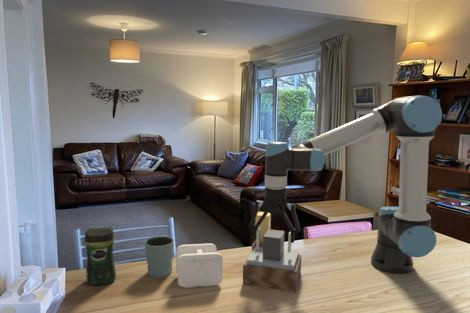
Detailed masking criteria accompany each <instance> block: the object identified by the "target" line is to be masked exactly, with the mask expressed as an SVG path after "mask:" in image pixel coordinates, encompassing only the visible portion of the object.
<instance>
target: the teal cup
mask: <svg viewBox="0 0 470 313" xmlns="http://www.w3.org/2000/svg"><path fill="white" fill-rule="evenodd" d="M174 245H175V244H174V239H173V238H172V237H170V236H166V235H161V236H160V235H157V236H151V237H149V238H147V239H145V241H144V248H145V254H146V264H147V267H146V268H147V274H148V276H150V277H152V278H158V279H159V278H165V277H168V276H170V275H171V274H172V272H173V257H174Z"/></svg>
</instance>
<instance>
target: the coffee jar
mask: <svg viewBox="0 0 470 313" xmlns="http://www.w3.org/2000/svg"><path fill="white" fill-rule="evenodd" d="M114 243H115V233H114V229H113V227H111V226H110V227H109V226H108V227H97V228H95V227H93V228H88V229H87V230H86V231H85V233H84V246H85V249H86V270H85V281H86V284H87V285H90V286H100V285H107V284H112V283H113V282H114V281H115V280H116V278H117V275H116V274H117V272H116V267H115V266H116V265H115V260H114V249H113V248H114V247H113V246H114Z"/></svg>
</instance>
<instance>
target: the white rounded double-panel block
mask: <svg viewBox="0 0 470 313" xmlns="http://www.w3.org/2000/svg"><path fill="white" fill-rule="evenodd" d="M175 251H176V253H175V258H176V259H175V260H176V262H175V267H176V268H175V273H176V275H177V285H178V286H180V287H181V288H185V289H189V288H190V289H191V288H195V287H196V288H197V287H207V288H208V287H214V286H217V285H220V284H221V283H222V282H223V265H224V260H223V259H224V258H223V255H222V254H221V253H220V252H217V251H218V250H217V246H216V245H215V244H214V243H193V244H191V243H190V244H180V245H179V246H177V247H176V250H175Z"/></svg>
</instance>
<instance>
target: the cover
mask: <svg viewBox="0 0 470 313" xmlns="http://www.w3.org/2000/svg"><path fill="white" fill-rule="evenodd" d="M250 253H251V254H249V255H250V256H249V255H248V256H249V257H247V258H248V259H247V258H246V259H247V264H250V265H257V266H265V267H272V268H280V269H287V270H294V268H295V265H296V262H297V259H298V255H299V251H297V250H295V251H294V250H291V251H290V253H289V252H288V249H285V230H277V229H271V228H270V229H268V230H267V231H266V233H265V235H264V236H263V247H259V248H258V249H256V247H255V248H254V249H253V251H252V250H251V251H250Z"/></svg>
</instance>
